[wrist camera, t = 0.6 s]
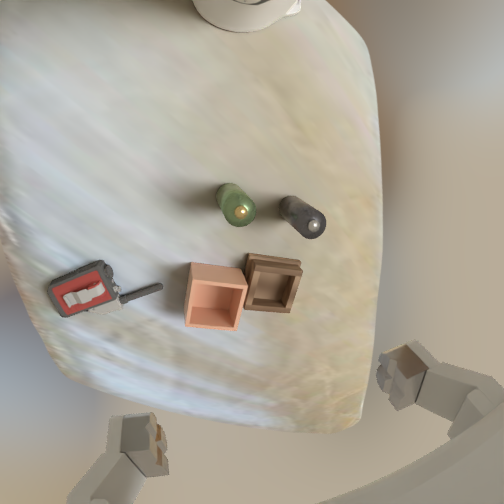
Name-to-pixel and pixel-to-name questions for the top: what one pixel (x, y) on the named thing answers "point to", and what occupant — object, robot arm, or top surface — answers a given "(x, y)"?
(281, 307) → the cell holder
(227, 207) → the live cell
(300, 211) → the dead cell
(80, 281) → the walkie-talkie
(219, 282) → the cup
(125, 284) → the top surface
